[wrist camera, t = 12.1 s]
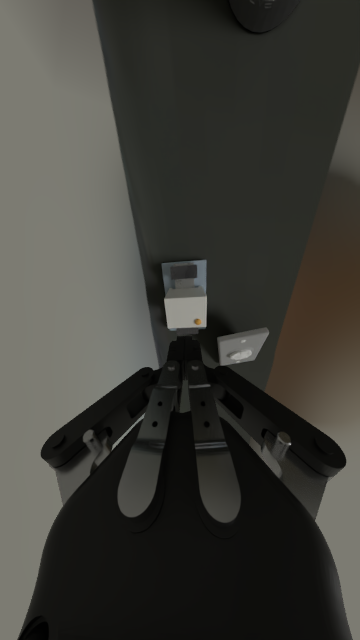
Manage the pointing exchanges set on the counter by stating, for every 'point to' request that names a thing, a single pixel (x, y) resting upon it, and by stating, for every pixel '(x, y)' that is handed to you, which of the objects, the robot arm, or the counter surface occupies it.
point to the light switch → (241, 346)
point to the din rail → (184, 285)
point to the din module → (186, 307)
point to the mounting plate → (197, 281)
